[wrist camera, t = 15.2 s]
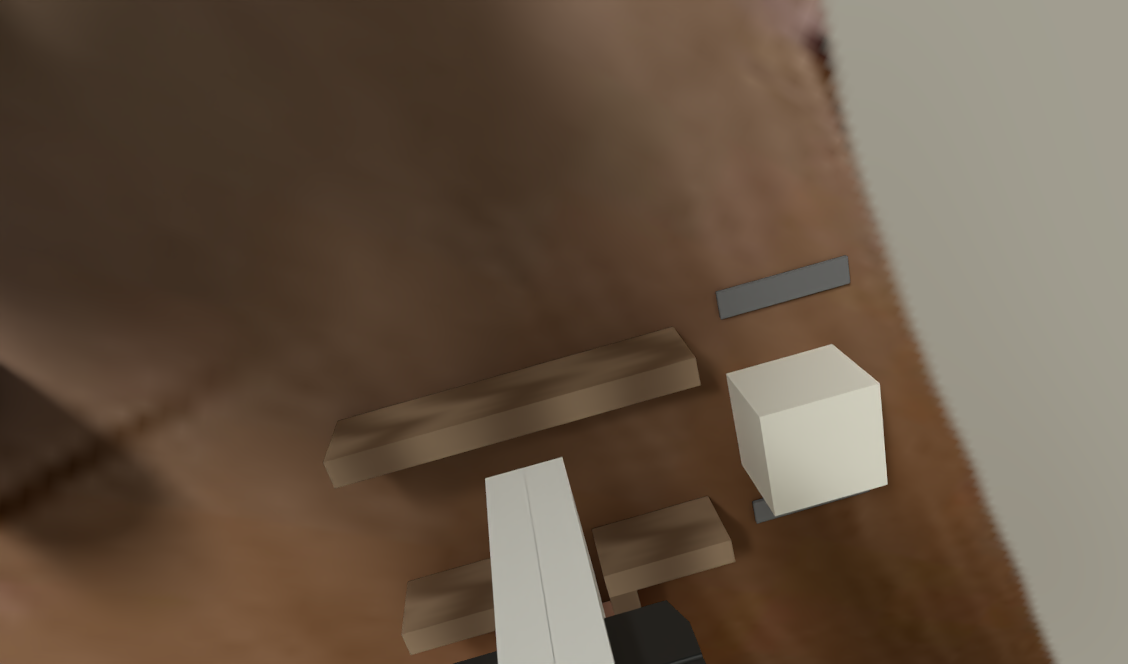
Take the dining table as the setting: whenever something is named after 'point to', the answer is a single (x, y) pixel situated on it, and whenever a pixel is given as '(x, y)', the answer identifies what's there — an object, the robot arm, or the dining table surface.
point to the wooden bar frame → (516, 409)
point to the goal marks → (777, 292)
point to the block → (809, 428)
